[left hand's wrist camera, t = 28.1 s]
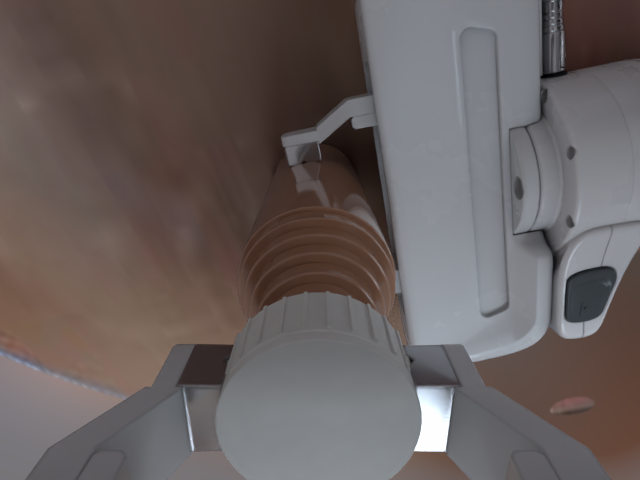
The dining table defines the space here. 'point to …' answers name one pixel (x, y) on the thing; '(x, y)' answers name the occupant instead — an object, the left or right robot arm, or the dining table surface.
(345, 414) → the cap
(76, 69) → the dining table surface
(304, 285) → the bottle
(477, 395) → the left robot arm
